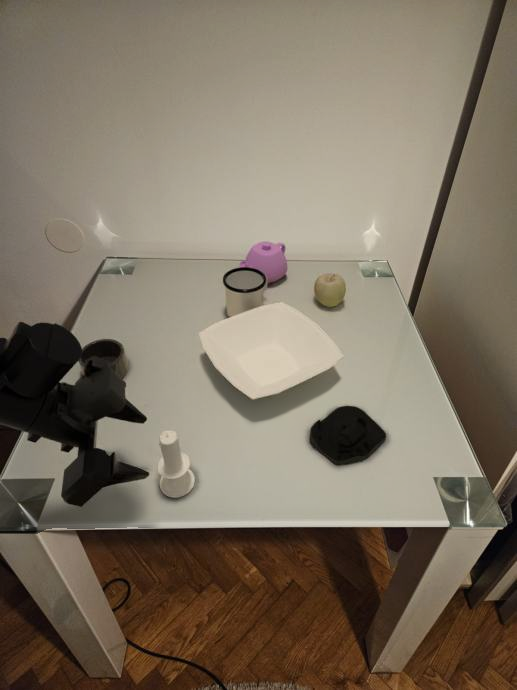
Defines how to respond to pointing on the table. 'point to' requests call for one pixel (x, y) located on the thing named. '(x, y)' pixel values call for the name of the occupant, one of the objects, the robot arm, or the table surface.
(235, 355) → the bowl
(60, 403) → the robot arm
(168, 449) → the candle
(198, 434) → the table surface
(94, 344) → the holder
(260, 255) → the teapot
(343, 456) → the black low lumpy piece
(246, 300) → the mug
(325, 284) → the fruit
